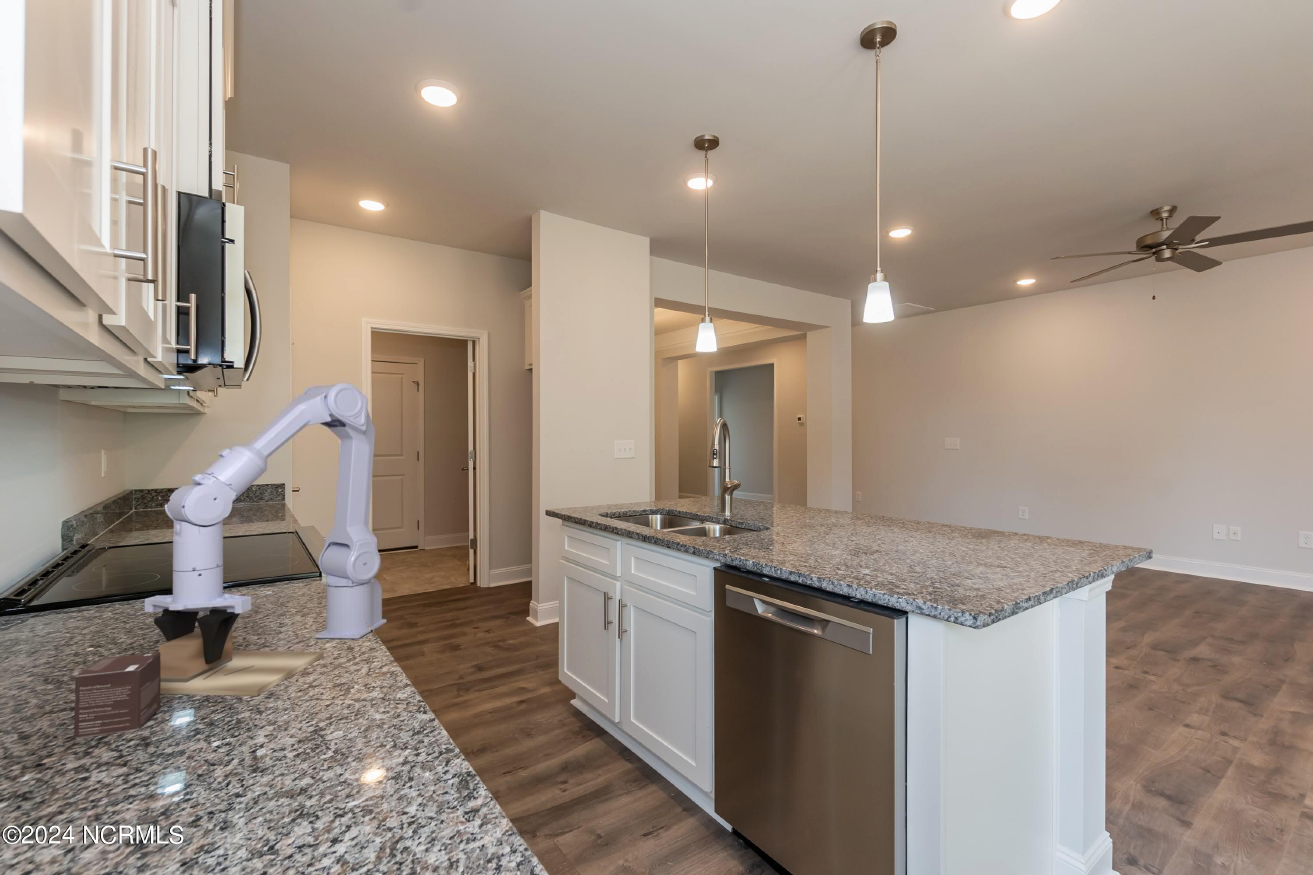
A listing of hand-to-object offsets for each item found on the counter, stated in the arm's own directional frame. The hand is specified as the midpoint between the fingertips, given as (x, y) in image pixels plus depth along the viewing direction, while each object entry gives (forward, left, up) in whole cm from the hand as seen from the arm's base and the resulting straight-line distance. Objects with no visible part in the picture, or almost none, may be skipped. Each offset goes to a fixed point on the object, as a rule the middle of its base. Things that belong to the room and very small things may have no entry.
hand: (198, 661), depth 84 cm
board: (-1, +2, -2) cm, 3 cm away
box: (+14, +3, -2) cm, 14 cm away
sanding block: (0, 0, -1) cm, 1 cm away
